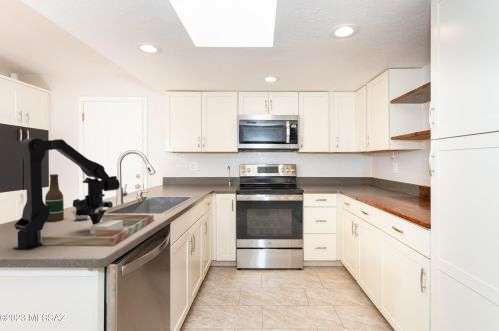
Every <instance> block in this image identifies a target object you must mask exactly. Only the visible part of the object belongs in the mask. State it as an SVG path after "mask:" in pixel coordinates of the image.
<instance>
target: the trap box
mask: <svg viewBox="0 0 499 331" xmlns="http://www.w3.org/2000/svg"><path fill="white" fill-rule="evenodd" d="M154 216H155V215H154V214H114V213H113V214H111V213H109V214H108V213H107V214H106V213H104V215H103V217H102V218H101V221H105V220H123V227H127V228H126V229H124V228H122V229H96V230H95V234H94V236H60V235H59V236H58V235H57V236H51V235H49V236H48V235H44V236H41V242H42V245H41V246H87V247H89V246H90V247H91V246H98V247H99V246H101V247H102V246H105V247H107V246H109V247H113V246H115V245H117V244H118V243H120V242H122V241H123V240H125V239H127V238H128V237H130V236H131V235H132V234H135V233H136V232H137V231H139V230H140V229H142V228H144V227H145V226H148V225H149V224H150V223H152V222H154V220H155V219H154Z"/></svg>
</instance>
